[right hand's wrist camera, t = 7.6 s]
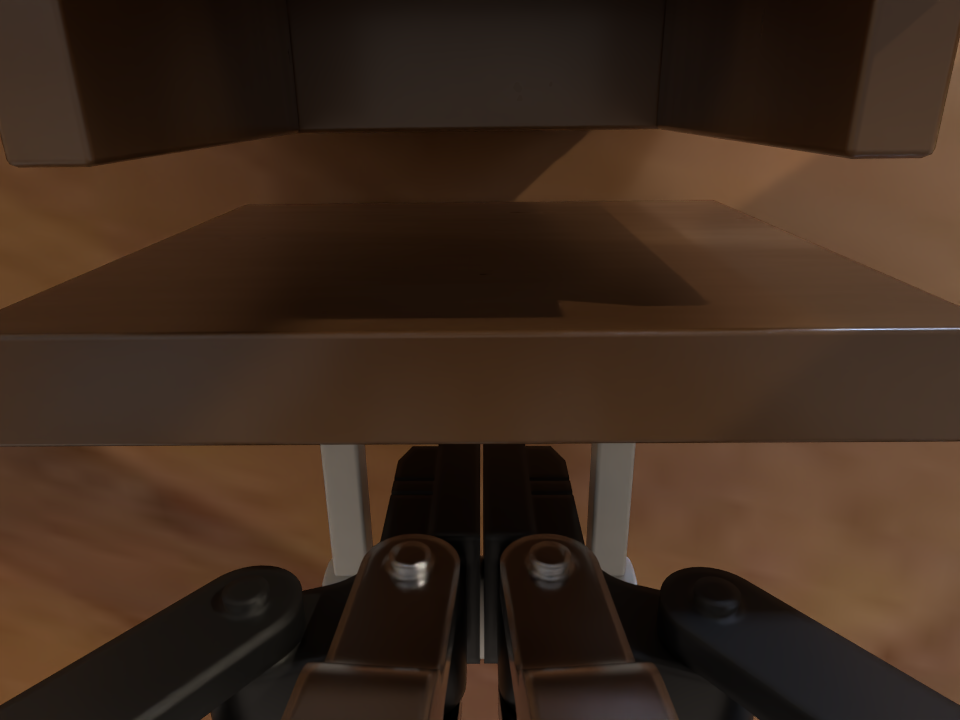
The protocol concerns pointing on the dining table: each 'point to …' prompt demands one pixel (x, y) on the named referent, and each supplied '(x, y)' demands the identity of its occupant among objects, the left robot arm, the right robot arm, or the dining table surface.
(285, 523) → the dining table surface
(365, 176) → the dining table surface
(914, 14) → the drawer
